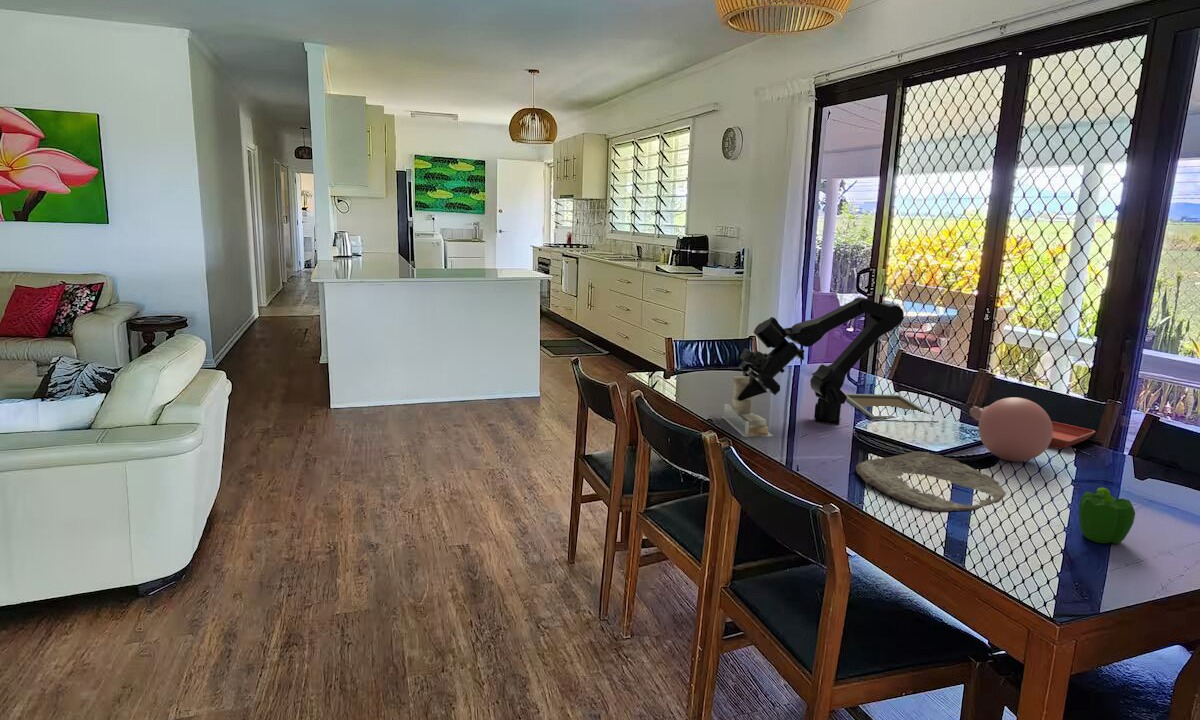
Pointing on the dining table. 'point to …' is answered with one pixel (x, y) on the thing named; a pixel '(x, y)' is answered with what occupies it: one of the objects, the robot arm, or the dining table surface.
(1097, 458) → the dining table surface
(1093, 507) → the bell pepper
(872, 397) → the picture frame
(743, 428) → the offcut rack
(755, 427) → the offcut pile
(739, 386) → the beige wooden block
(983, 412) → the balloon
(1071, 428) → the plant saucer
